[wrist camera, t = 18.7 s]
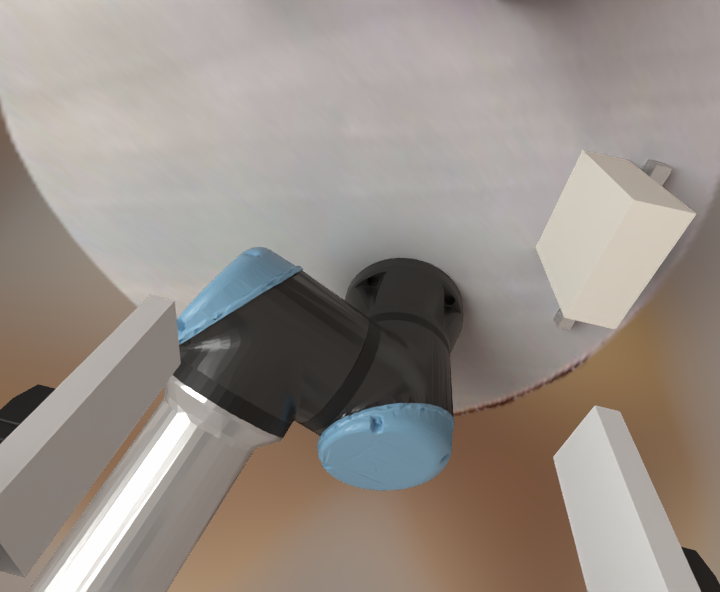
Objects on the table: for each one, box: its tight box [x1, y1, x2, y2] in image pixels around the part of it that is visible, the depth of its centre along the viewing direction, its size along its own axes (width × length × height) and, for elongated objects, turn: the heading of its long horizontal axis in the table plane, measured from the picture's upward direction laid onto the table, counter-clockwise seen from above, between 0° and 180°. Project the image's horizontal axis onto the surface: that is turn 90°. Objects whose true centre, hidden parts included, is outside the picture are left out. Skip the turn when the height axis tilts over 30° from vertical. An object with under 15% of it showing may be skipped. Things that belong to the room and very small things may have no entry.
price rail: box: [554, 160, 673, 330], centre depth 45 cm, size 20×2×2 cm, turn 169°
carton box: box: [536, 150, 696, 329], centre depth 38 cm, size 5×11×13 cm, turn 170°
